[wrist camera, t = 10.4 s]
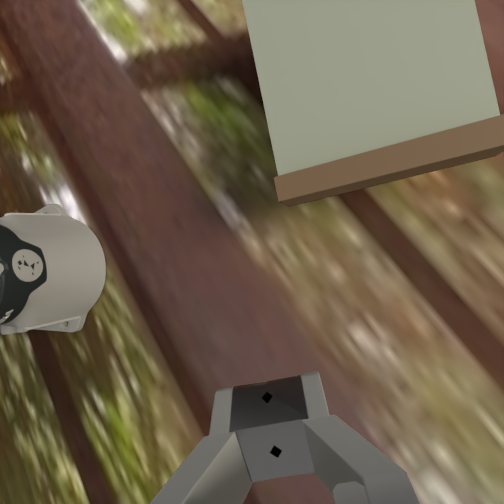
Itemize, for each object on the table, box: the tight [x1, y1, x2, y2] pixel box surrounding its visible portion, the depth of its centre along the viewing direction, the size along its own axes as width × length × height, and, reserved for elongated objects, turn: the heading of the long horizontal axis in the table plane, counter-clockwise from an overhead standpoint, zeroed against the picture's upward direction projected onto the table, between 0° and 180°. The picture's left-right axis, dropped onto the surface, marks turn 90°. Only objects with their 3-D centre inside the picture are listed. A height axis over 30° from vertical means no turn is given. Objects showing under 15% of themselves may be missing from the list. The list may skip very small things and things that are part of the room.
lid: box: [242, 0, 504, 206], centre depth 28 cm, size 17×21×4 cm
